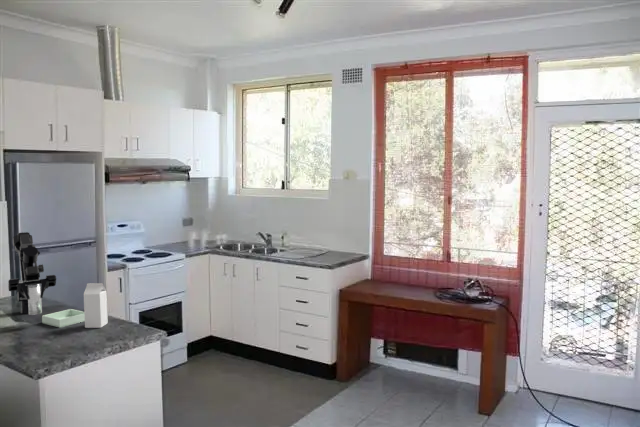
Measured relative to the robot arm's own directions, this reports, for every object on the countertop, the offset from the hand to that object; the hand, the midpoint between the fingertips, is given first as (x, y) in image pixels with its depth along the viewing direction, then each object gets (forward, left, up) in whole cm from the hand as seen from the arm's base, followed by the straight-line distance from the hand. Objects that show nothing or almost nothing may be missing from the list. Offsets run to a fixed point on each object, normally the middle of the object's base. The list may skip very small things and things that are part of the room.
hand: (35, 298), depth 236 cm
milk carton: (+11, +24, -13) cm, 29 cm away
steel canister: (-1, 0, -7) cm, 7 cm away
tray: (-3, +12, -13) cm, 18 cm away
